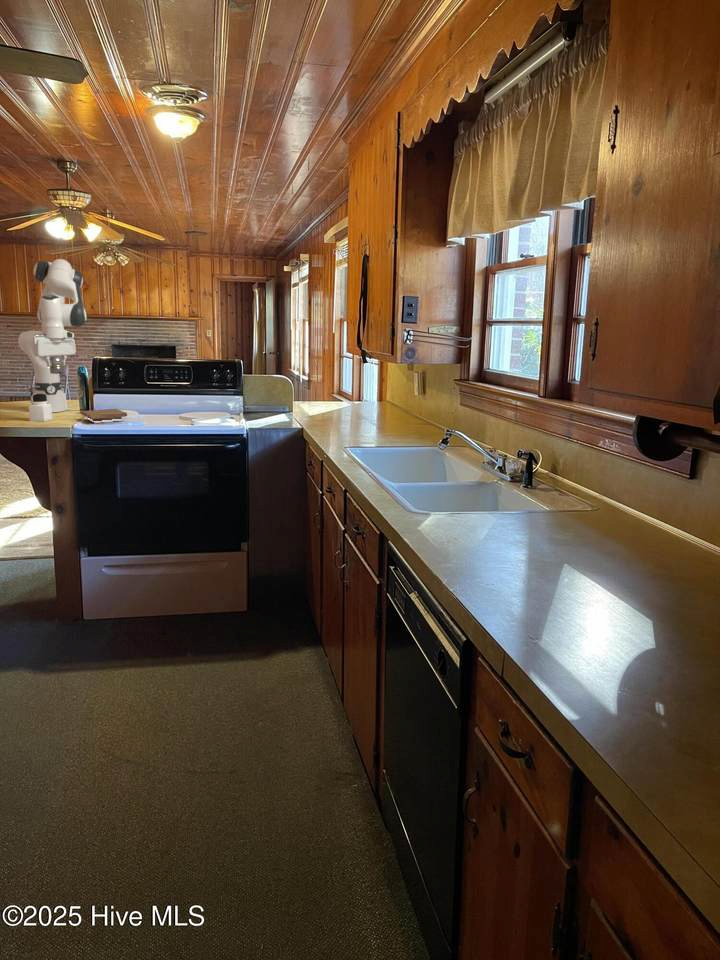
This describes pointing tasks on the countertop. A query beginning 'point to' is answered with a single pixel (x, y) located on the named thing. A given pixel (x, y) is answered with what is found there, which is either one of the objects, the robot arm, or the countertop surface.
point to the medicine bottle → (40, 408)
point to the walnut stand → (104, 414)
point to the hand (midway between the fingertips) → (56, 366)
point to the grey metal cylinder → (56, 365)
